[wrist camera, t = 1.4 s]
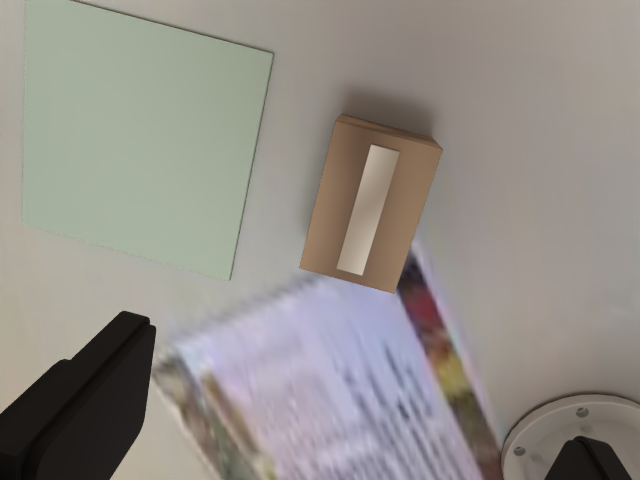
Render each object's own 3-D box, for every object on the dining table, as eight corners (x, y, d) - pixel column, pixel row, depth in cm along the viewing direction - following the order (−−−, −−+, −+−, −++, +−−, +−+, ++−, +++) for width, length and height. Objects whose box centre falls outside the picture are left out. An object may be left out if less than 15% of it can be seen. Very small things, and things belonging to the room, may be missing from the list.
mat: (274, 54, 29) (272, 53, 29) (230, 278, 35) (228, 281, 34) (30, -11, 29) (25, -12, 29) (25, 222, 35) (22, 224, 35)
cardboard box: (432, 137, 30) (443, 150, 25) (391, 262, 33) (394, 295, 28) (341, 113, 30) (335, 121, 25) (309, 240, 33) (298, 269, 28)
